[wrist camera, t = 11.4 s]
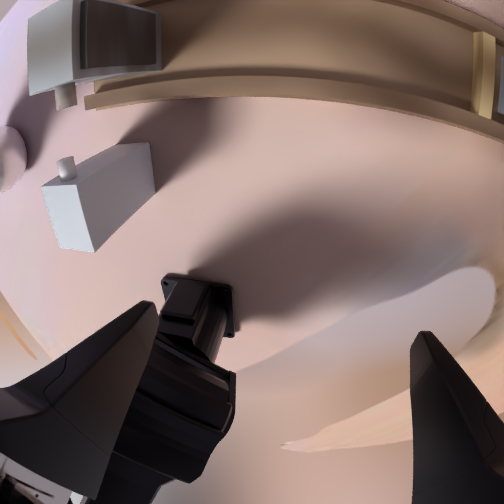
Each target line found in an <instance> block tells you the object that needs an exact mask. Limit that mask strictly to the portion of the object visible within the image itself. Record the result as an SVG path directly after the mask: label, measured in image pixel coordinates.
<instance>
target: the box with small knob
mask: <svg viewBox="0 0 504 504" xmlns="http://www.w3.org/2000/svg"><path fill="white" fill-rule="evenodd" d="M57 166H58V171H59V176H57V177H55V178H54V179H52V180H51V181H49V182H47V183H46V184H44V185H43V186H41V189H42V193H43V196H44V200H45V203H46V207H47V210H48V214H49V217H50V220H51V223H52V226H53V229H54V233H55V235H56V238H57V241H58V244H59V247H60V248H66V249H73V250H80V251H87V252H94V253H95V252H96V251H97V250H98V249H99V248H100V247H101V246H102V245H103V244H104V242H105V241H106V240H107V239H108V238H109V237H110V236H111V235H112V234H113V233H114V232H115V231H116V230H117V229H118V228H119V227H120V226H121V225H122V224H124V223H125V222H126V221H127V220H128V219H129V218H130V217H131V216H132V215H133V214H134V213H135V212H136V211H137V210H138V209H139V208H140V207H141V206H142V205H144V204H145V203H146V202H147V201H148V200H149V199H150V198H151V197H152V196H153V195H154V194H156V191H155V184H154V177H153V169H152V161H151V152H150V143H149V142H142V143H129V144H117V145H114V146H112V147H110V148H108V149H106V150H104V151H102V152H100V153H98V154H96V155H94V156H92V157H91V158H89V159H87V160H85V161H83V162H81V163H80V164H78V165H76V166H75V163H74V157H73V156H70V157H66V158H63V159H61V160H59V161H57Z"/></svg>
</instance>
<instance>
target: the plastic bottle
mask: <svg viewBox="0 0 504 504" xmlns="http://www.w3.org/2000/svg"><path fill="white" fill-rule="evenodd" d="M26 165H27V151H26V147H25V143H24V141H23V138H22V136H21V135H20V133H19V132H18V131H17V130H16V129H14V128H12V127H9V126H6V125H3V126H0V193H3V192H5V191H7V190H9V189H11V188H12V187H13V186H14V185H15V184H16V183H17V182H18V181H19V180H20V179H21V177H22V176H23V173H24V171H25V169H26Z"/></svg>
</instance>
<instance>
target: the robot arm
mask: <svg viewBox="0 0 504 504" xmlns="http://www.w3.org/2000/svg"><path fill="white" fill-rule="evenodd" d="M167 282H168V283H167ZM161 285H162V289H163V294H164V297H165V301H166V302H165V303H164V305H163V307H162V309H161V311H160V314H159V316H158V313H157V310H156V306H155V304H154V303H153V302H151V301H146V300H143V301H141V302H139V303H138V304H136V305H135V306H133V307H132V308H130V309H129V310H127V311H126V312H124V313H123V314H121V315H120V316H118V317H117V318H115V319H114V320H113V321H111V322H110V323H108V324H107V325H105V326H104V327H102V328H101V329H99V330H98V331H96V332H95V333H94V334H92V335H91V336H89V337H88V338H86V339H85V340H83V341H82V342H81V343H79V344H78V345H76V346H75V347H73V348H72V349H71V350H69V351H68V352H67V353H65V354H63V355H62V356H60V357H59V358H57V359H56V360H54V361H53V362H51V363H50V364H49V365H47V366H45V367H44V368H42V369H40V370H39V371H37V372H35V373H34V374H32V375H30V376H28V377H26V378H25V379H23V380H21V381H20V382H18V383H16V384H14V385H12V386H10V387H5V388H0V504H73V503H72V501H71V498H70V495H71V493H72V491H73V492H76V493H78V494H81V495H83V498H82V500H81V502H80V504H151V503H152V501H153V500H154V498H155V496H156V494H157V492H158V491H159V489H160V488H161V486H163V485H165V484H167V483H169V482H172V481H174V480H176V479H177V480H180V481H183V482H186V483H191V482H193V481H194V480H196V479H197V478H198V477H199V476H201V474H202V472H203V470H204V468H205V466H206V463H207V461H208V459H209V457H210V455H211V453H212V452H213V450H214V448H215V447H216V445H217V444H218V443H219V441H221V440H222V439H223V438H224V436H225V435H226V434H227V432H228V431H229V429H230V427H231V424H232V422H233V419H234V415H235V398H236V373H234V372H232V371H228V370H226V369H224V368H222V367H220V366H218V365H216V364H214V363H215V360H216V357H217V354H218V350H219V347H220V344H221V341H222V338H223V337H228V338H233V337H234V335H235V317H234V299H233V288H232V287H231V286H230V285H227V284H220V283H212V282H204V281H196V280H189V279H182V278H175V277H168V276H165V277H163V279H162V280H161ZM226 290H228V291H226ZM410 396H411V409H412V425H413V493H412V494H413V496H412V504H504V423H503V421H502V420H501V419H500V418H499V416H498V415H497V414H496V412H495V411H494V410H493V408H492V407H491V406H490V404H489V403H488V402H486V399H485V397H484V396H483V395H482V393H481V392H480V391H479V389H478V388H477V387H476V386H475V384H474V383H473V382H472V380H471V379H470V378H469V377H468V375H467V374H466V373H465V371H464V370H463V369H462V368H461V366H460V365H459V364H458V363H457V361H456V360H455V359H454V358H453V357H452V355H451V354H450V353H449V352H448V351H447V349H446V348H445V347H444V346H443V345H442V343H441V342H440V341H439V340H438V339H437V338H436V336H435V335H434V334H433V333H432V332H431V331H420V332H419V333H418V335H417V337H416V338H415V340H414V342H413V344H412V345H411V348H410Z"/></svg>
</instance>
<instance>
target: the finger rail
mask: <svg viewBox="0 0 504 504" xmlns="http://www.w3.org/2000/svg"><path fill="white" fill-rule="evenodd" d="M501 57H504V28H502V27H500V26H498V25H496V24H494V23H492V22H491V21H489V20H487V19H485V18H483V17H481V16H478V15H476V14H474V13H472V12H470V11H468V10H465V9H463V8H461V7H458V6H456V5H454V4H451V3H449V2H446V1H443V0H59V1H58V2H56V3H54V4H52V5H50V6H49V7H47V8H45V9H44V10H42V11H40V12H39V13H37V14H35V15H34V16H32V17H31V18H29V19H28V34H27V62H28V83H29V95H30V96H32V95H35V94H39V93H43V92H47V91H51V90H55V100H56V109H57V110H60V109H64V108H67V107H71V106H74V105H77V98H76V86H75V85H78V84H83V83H89V82H94V92H95V94H92V95H88V96H84V102H85V110H89V109H94V108H96V110H102V109H107V108H113V107H119V106H125V105H131V104H138V103H146V102H154V101H163V100H174V99H186V98H202V97H236V96H250V97H283V98H299V99H312V100H322V101H331V102H340V103H347V104H354V105H361V106H367V107H373V108H379V109H384V110H390V111H395V112H399V113H404V114H409V115H413V116H417V117H421V118H425V119H429V120H433V121H437V122H441V123H444V124H448V125H451V126H455V127H458V128H461V129H464V130H467V131H470V132H473V133H476V134H479V135H482V136H485V137H488V138H490V139H493V140H496V141H498V142H501V143H504V115H503V114H501V113H499V112H498V103H499V93H500V79H501Z"/></svg>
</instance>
